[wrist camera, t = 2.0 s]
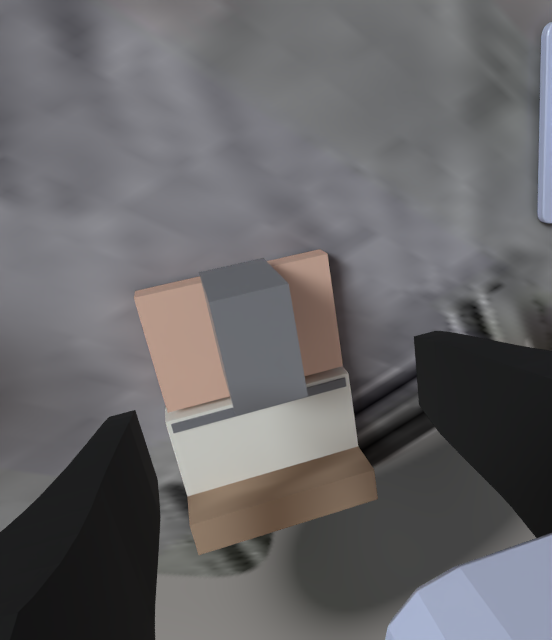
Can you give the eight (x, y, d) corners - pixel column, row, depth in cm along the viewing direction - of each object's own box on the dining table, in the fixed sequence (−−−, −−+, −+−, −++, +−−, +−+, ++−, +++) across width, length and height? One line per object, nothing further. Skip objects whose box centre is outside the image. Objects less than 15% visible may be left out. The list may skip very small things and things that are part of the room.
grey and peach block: (318, 239, 20) (366, 265, 15) (335, 357, 22) (382, 411, 17) (132, 281, 19) (123, 322, 14) (167, 401, 21) (169, 472, 16)
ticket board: (338, 362, 22) (364, 391, 19) (352, 460, 24) (377, 500, 21) (165, 408, 21) (165, 446, 18) (194, 507, 23) (199, 556, 20)
